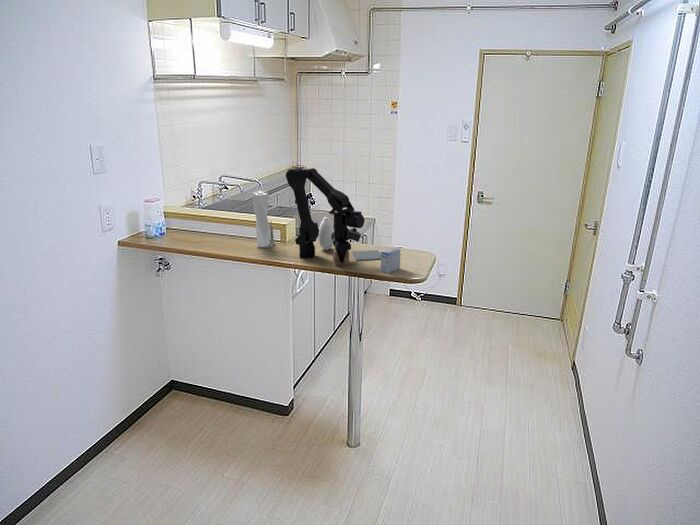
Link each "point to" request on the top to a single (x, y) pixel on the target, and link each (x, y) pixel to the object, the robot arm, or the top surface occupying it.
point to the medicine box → (390, 260)
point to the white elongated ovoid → (325, 233)
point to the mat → (367, 255)
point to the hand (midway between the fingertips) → (341, 260)
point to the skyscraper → (262, 220)
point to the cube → (337, 260)
